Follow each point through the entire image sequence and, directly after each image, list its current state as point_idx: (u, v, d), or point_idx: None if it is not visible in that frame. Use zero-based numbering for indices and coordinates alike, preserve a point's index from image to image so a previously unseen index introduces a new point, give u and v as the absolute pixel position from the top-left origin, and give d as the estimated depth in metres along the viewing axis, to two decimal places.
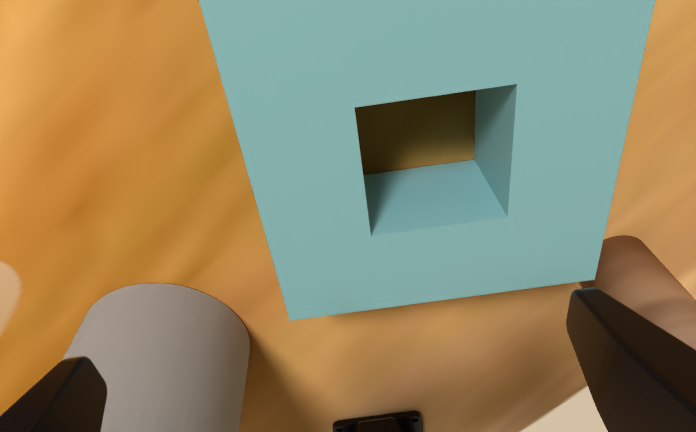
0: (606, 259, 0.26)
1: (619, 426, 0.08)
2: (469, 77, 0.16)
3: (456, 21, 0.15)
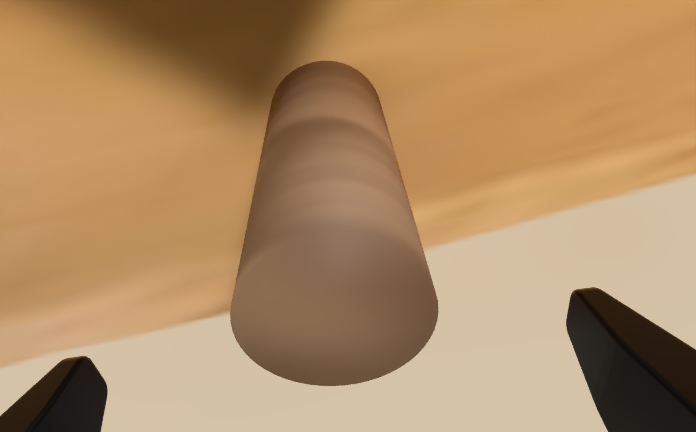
0: (320, 73, 0.15)
1: (619, 426, 0.08)
2: None
3: None
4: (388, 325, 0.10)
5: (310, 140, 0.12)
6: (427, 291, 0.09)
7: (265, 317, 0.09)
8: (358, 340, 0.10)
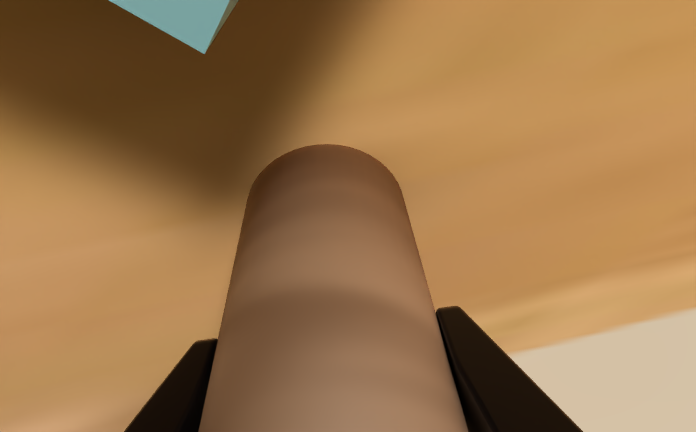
0: (317, 172, 0.10)
1: None
2: None
3: None
4: None
5: (298, 357, 0.06)
6: None
7: None
8: None
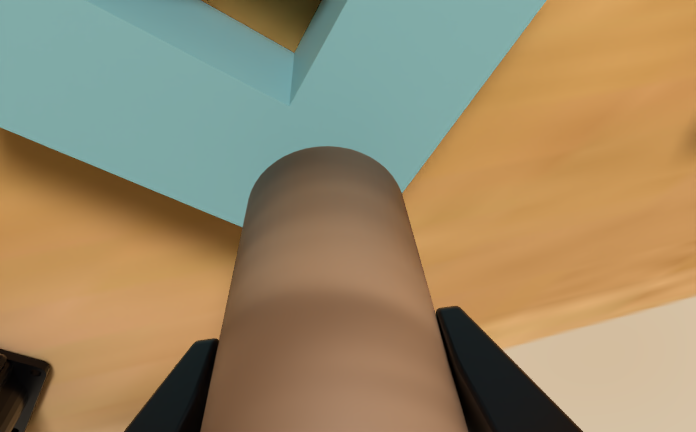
0: (317, 175, 0.10)
1: None
2: None
3: None
4: None
5: (300, 359, 0.06)
6: None
7: None
8: None
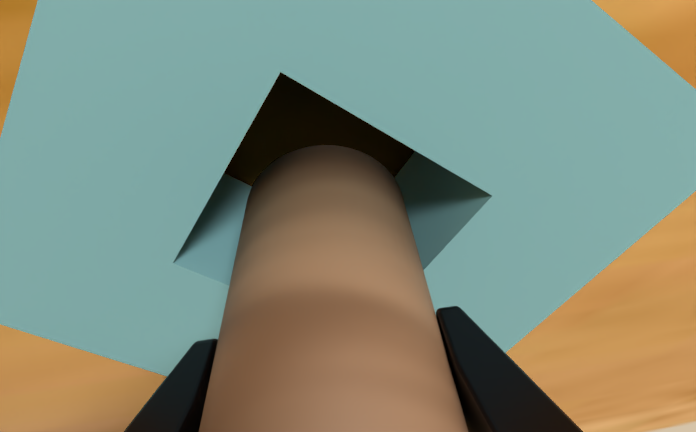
0: (316, 173, 0.10)
1: None
2: (451, 147, 0.11)
3: (494, 63, 0.10)
4: None
5: (299, 358, 0.06)
6: None
7: None
8: None
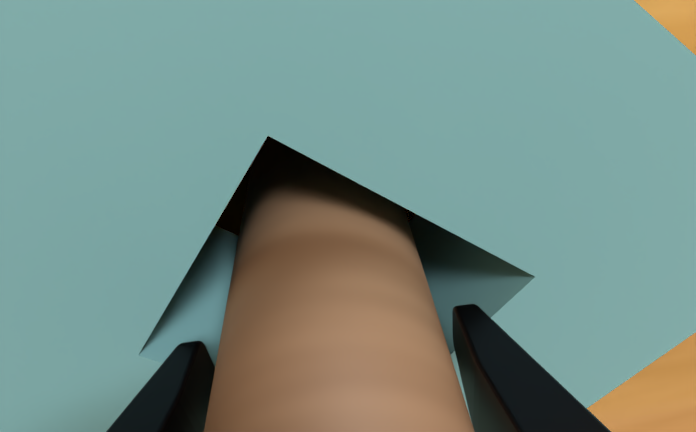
0: None
1: None
2: (487, 223, 0.08)
3: (548, 123, 0.07)
4: None
5: (304, 283, 0.07)
6: None
7: None
8: None
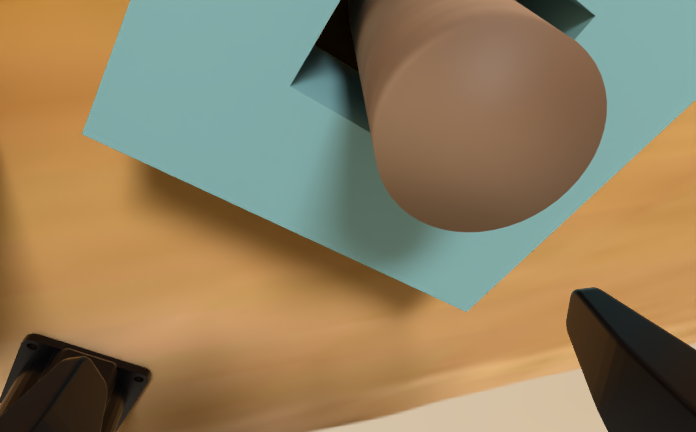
0: None
1: (619, 426, 0.08)
2: None
3: None
4: (545, 149, 0.09)
5: None
6: (598, 101, 0.08)
7: (413, 134, 0.08)
8: (509, 168, 0.09)
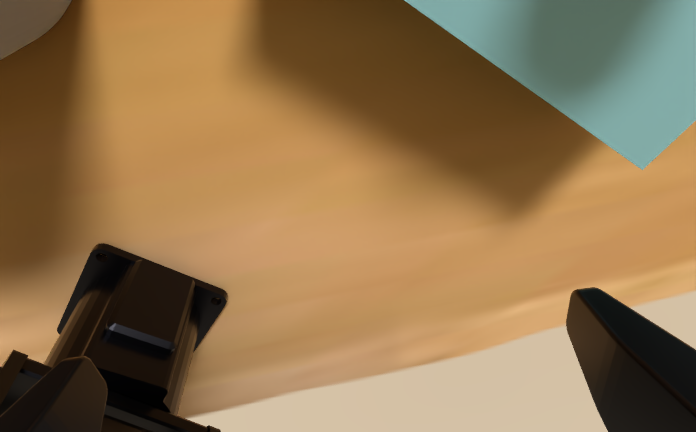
0: None
1: (619, 426, 0.08)
2: None
3: None
4: None
5: None
6: None
7: None
8: None
